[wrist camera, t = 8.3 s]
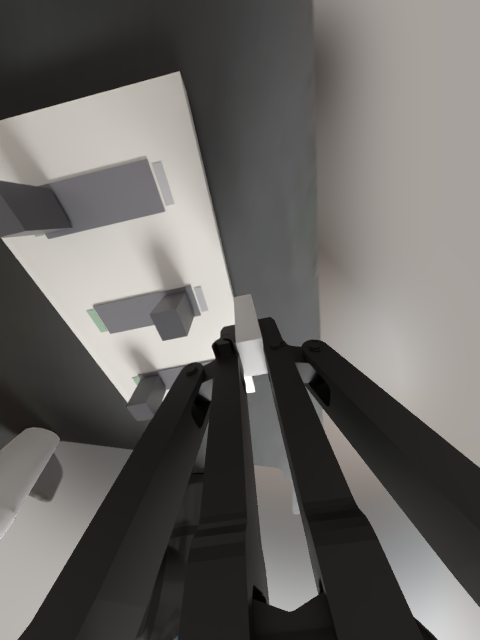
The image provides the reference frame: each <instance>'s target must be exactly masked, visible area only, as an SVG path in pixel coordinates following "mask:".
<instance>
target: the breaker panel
mask: <svg viewBox="0 0 480 640" xmlns="http://www.w3.org/2000/svg"><path fill="white" fill-rule="evenodd" d="M0 181H6V182H13V183H19V184H25V185H32V186H38V187H44V188H50V189H51V191H52V192H53V194H54V196H55V198H56V199H57V201H58V203H59V205H60V206H61V208H62V210H63V211H64V213H65V215H66V217H67V218H68V220H69V222H70V224H71V225H72V227H73V228H69V229H65V230H61V231H57V232H53V233H48V234H39V235H28V236H18V237H7V238H1V239H2V240H3V241H4V242H5V244H6V245H7V246H8V248H9V249H10V250H11V252H12V253H13V254H14V255H15V257H16V258H17V259H18V261H19V262H20V263H21V265H22V266H23V267H24V268H25V270H26V271H27V272H28V274H29V275H30V276H31V278H32V279H33V280H34V281H35V283H36V284H37V285H38V287H39V288H40V289H41V291H42V292H43V293H44V294H45V296H46V297H47V298H48V300H49V301H50V302H51V304H52V305H53V306H54V307H55V309H56V310H57V311H58V313H59V314H60V315H61V317H62V318H63V319H64V320H65V322H66V323H67V324H68V326H69V327H70V328H71V330H72V331H73V332H74V333H75V335H76V336H77V337H78V339H79V340H80V341H81V343H82V344H83V345H84V346H85V348H86V349H87V350H88V352H89V353H90V354H91V356H92V357H93V358H94V360H95V361H96V362H97V363H98V365H99V366H100V367H101V369H102V370H103V371H104V373H105V374H106V375H107V376H108V378H109V379H110V380H111V382H112V383H113V384H114V386H115V387H116V388H117V389H118V391H119V392H120V393H121V395H122V396H123V397H124V399H125V400H126V401H127V402H129V400H130V398H131V396H132V394H133V393H134V391H135V389H136V387H137V385H138V383H139V381H140V380H141V378H145V377H151V376H156V375H158V376H159V377H160V379H161V381H162V383H163V384H164V386H165V388H166V392H165V395H164V397H163V400H164V398H165V397H166V395H167V393H168V391H169V390H170V388H171V386H172V385H173V383H174V381H175V380H176V378H177V376H178V375H179V373H180V371H181V370H182V369H183V367H185V366H186V365H188V364H190V363H193V362H199V363H201V364H202V365H203V366H204V365H206V364H208V363H210V362H212V361H213V360H215V355H214V352H213V349H212V344H213V343H214V342H215V341H216V340H218V339H219V338H220V331H221V330H222V328H223V327H225V326H230V325H235V315H234V294H233V290H232V286H231V282H230V277H229V273H228V269H227V264H226V260H225V256H224V251H223V247H222V243H221V238H220V234H219V230H218V226H217V221H216V217H215V213H214V208H213V204H212V200H211V195H210V191H209V187H208V182H207V178H206V174H205V169H204V165H203V161H202V157H201V152H200V148H199V144H198V139H197V135H196V131H195V126H194V122H193V118H192V113H191V109H190V105H189V101H188V96H187V92H186V89H185V86H184V83H183V80H182V77H181V74H180V71H178V72H175V73H171V74H168V75H164V76H160V77H157V78H153V79H149V80H146V81H142V82H138V83H135V84H131V85H127V86H124V87H120V88H117V89H113V90H109V91H106V92H102V93H98V94H95V95H91V96H87V97H84V98H80V99H76V100H73V101H69V102H66V103H62V104H58V105H55V106H51V107H47V108H44V109H40V110H36V111H33V112H29V113H25V114H22V115H18V116H15V117H11V118H7V119H4V120H0ZM184 291H186V292H187V295H188V297H189V300H190V303H191V306H192V308H193V311H194V314H195V316H194V318H193V321H192V324H191V327H190V330H189V333H188V336H186V337H181V338H176V339H171V340H166V341H162V339H161V337H160V335H159V333H158V331H157V329H156V327H155V325H154V323H153V321H152V319H151V317H150V315H149V314H150V313H151V312H152V310H153V309H154V308H155V307H156V306H157V304H158V303H159V302H160V301H161V299H162V298H163V297H164V296H166V295H170V294H175V293H180V292H184ZM244 379H245V383H246V391H247V393H250V392H255V388H254V381H253V376H249V377H245V376H244ZM163 400H162V402H163Z"/></svg>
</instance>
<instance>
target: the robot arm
mask: <svg viewBox="0 0 480 640" xmlns="http://www.w3.org/2000/svg"><path fill="white" fill-rule="evenodd" d="M234 315H235V325H230V326H225V327H223V328H222V330H221V331H220V338H219V339H218V340H216V341H215V342H214V343H213V344H212V349H213V352H214V355H215V360H213V361H212V362H210V363H208V364H206V365H204V366H203V365H202V364H201V363H199V362H193V363H190V364H188V365H186V366H185V367H183V369H182V370H181V371H180V373H179V375H178V376H177V378H176V380H175V381H174V383H173V385H172V386H171V388H170V390H169V391H168V393H167V395H166V397H165V398H164V400H163V402H162V403H161V405H160V407H159V408H158V410H157V412H156V413H155V415H154V417H153V418H152V420H151V422H150V423H149V425H148V427H147V428H146V430H145V432H144V433H143V435H142V437H141V439H140V440H139V442H138V444H137V445H136V447H135V449H134V450H133V452H132V454H131V455H130V457H129V459H128V460H127V462H126V464H125V465H124V467H123V469H122V471H121V472H120V474H119V476H118V477H117V479H116V481H115V483H114V484H113V486H112V487H111V489H110V491H109V492H108V494H107V496H106V497H105V499H104V501H103V502H102V504H101V506H100V507H99V509H98V511H97V513H96V514H95V516H94V518H93V519H92V521H91V523H90V524H89V526H88V528H87V529H86V531H85V533H84V534H83V536H82V538H81V539H80V541H79V543H78V544H77V546H76V548H75V549H74V551H73V553H72V555H71V556H70V558H69V560H68V561H67V563H66V565H65V566H64V568H63V570H62V571H61V573H60V575H59V576H58V578H57V580H56V581H55V583H54V585H53V586H52V588H51V590H50V592H49V593H48V595H47V597H46V598H45V600H44V602H43V603H42V605H41V607H40V608H39V610H38V612H37V613H36V615H35V617H34V619H33V620H32V622H31V623H30V625H29V626H28V627H27V628H26V630H25V631H24V632H23V634H22V635H21V636H20V637H19V639H18V640H437V638H436V637H435V636H434V635H433V634H432V633H431V632H429V630H427V629H426V628H425V627H424V626H423V625H422V624H421V623H420V622H419V621H418V620H417V619H415V618H414V617H413V615H412V613H411V611H410V608H409V606H408V604H407V602H406V599H405V597H404V595H403V593H402V591H401V589H400V586H399V584H398V582H397V580H396V578H395V575H394V573H393V571H392V569H391V566H390V564H389V562H388V560H387V558H386V555H385V553H384V551H383V549H382V547H381V545H380V542H379V540H378V538H377V536H376V534H375V532H374V530H373V528H372V526H371V524H370V522H369V521H368V519H367V517H366V516H365V515H364V514H363V513H362V511H361V510H360V509H359V508H358V506H357V505H356V503H355V500H354V498H353V496H352V494H351V492H350V489H349V487H348V485H347V482H346V480H345V478H344V476H343V473H342V471H341V468H340V466H339V464H338V461H337V459H336V457H335V455H334V452H333V450H332V448H331V445H330V443H329V441H328V439H327V436H326V434H325V431H324V429H323V427H322V424H321V422H320V420H319V417H318V415H317V413H316V410H315V408H314V406H313V404H312V401H311V399H310V397H309V394H308V392H307V390H306V387H307V389H308V390H309V391H310V392H311V394H312V395H313V396H314V397H315V399H316V400H317V401H318V403H319V404H320V405H321V406H322V408H323V409H324V410H325V412H326V413H327V414H328V415H329V417H330V418H331V419H332V421H333V422H334V423H335V424H336V426H337V427H338V428H339V430H340V431H341V432H342V433H343V435H344V436H345V437H346V438H347V440H348V441H349V442H350V444H351V445H352V446H353V447H354V449H355V450H356V451H357V452H358V454H359V455H360V456H361V458H362V459H363V460H364V462H365V463H366V464H367V465H368V467H369V468H370V469H371V470H372V472H373V473H374V474H375V476H376V477H377V478H378V479H379V481H380V482H381V483H382V485H383V486H384V487H385V488H386V489H387V491H388V492H389V494H390V495H391V496H392V497H393V499H394V500H395V501H396V503H397V504H398V505H399V506H400V508H401V509H402V510H403V511H404V513H405V514H406V515H407V517H408V518H409V519H410V520H411V522H412V523H413V524H414V526H415V527H416V528H417V529H418V531H419V532H420V533H421V534H422V536H423V537H424V538H425V540H426V541H427V542H428V543H429V545H430V546H431V547H432V549H433V550H434V551H435V552H436V554H437V555H438V556H439V557H440V559H441V560H442V561H443V563H444V564H445V565H446V566H447V568H448V569H449V570H450V572H451V573H452V574H453V575H454V577H455V578H456V579H457V580H458V582H459V583H460V584H461V585H462V586H463V587H464V589H465V590H466V591H467V592H468V594H469V595H470V596H471V597H472V598H473V600H474V601H475V602H476V603H477V604H478V606H479V607H480V468H479V467H478V466H477V465H475V464H474V463H473V462H472V461H470V460H469V459H468V458H467V457H465V456H464V455H463V454H462V453H461V452H459V451H458V450H457V449H456V448H454V447H453V446H452V445H451V444H449V443H448V442H447V441H446V440H445V439H443V438H442V437H441V436H440V435H438V434H437V433H436V432H435V431H433V430H432V429H431V428H430V427H429V426H427V425H426V424H425V423H423V422H422V421H421V420H420V419H419V418H417V417H416V416H415V415H413V414H412V413H411V412H410V411H409V410H408V409H406V408H405V407H404V406H403V405H401V404H400V403H399V402H398V401H396V400H395V399H394V398H393V397H391V396H390V395H389V394H388V393H387V392H385V391H384V390H383V389H382V388H380V387H379V386H378V385H377V384H375V383H374V382H373V381H372V380H370V379H369V378H368V377H367V376H366V375H364V374H363V373H362V372H361V371H359V370H358V369H357V368H356V367H354V366H353V365H352V364H351V363H349V362H348V361H347V360H346V359H345V358H343V357H342V356H340V354H338V353H337V352H336V351H335V350H333V349H332V348H331V347H329V345H327V344H326V343H324V342H323V341H320V340H308V341H306V342H304V343H303V345H302V347H296V346H290V345H288V344H286V342H285V341H283V339H282V337H281V335H280V332H279V330H278V328H277V325H276V323H275V320H274V319H272V318H271V317H268V318H263V319H258V320H257V316H256V312H255V308H254V305H253V301H252V297H251V294H248V295H243V296H238V297H234ZM266 373H268V376H269V381H270V387H271V390H272V394H273V398H274V402H275V407H276V411H277V415H278V420H279V424H280V428H281V433H282V437H283V441H284V445H285V450H286V454H287V458H288V463H289V467H290V471H291V475H292V480H293V484H294V488H295V493H296V497H297V501H298V505H299V510H300V514H301V518H302V523H303V526H304V531H305V536H306V540H307V544H308V550H309V555H310V559H311V564H312V568H313V573H314V577H315V581H316V586H317V590H318V595H317V596H316V597H314V598H313V599H311V600H310V601H309V602H307V603H305V604H304V605H302V606H301V607H299V608H298V609H296V610H294V611H292V612H288V611H285V610H282V609H279V608H276V607H274V606H271V605H269V597H268V587H267V578H266V570H265V563H264V557H263V551H262V545H261V536H260V525H259V515H258V505H257V495H256V484H255V474H254V464H253V453H252V443H251V433H250V422H249V412H248V402H247V391H246V383H245V379H244V376H245V377H249V376H255V375H260V374H266ZM304 384H305V385H304ZM305 386H306V387H305ZM208 421H209V427H208V438H207V448H206V458H205V468H204V474H191V472H192V469H193V466H194V463H195V460H196V457H197V454H198V451H199V448H200V445H201V442H202V439H203V436H204V433H205V430H206V427H207V424H208Z"/></svg>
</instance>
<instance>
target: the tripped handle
mask: <svg viewBox="0 0 480 640" xmlns="http://www.w3.org/2000/svg"><path fill="white" fill-rule="evenodd" d="M149 315H150V317H151V319H152V321H153V323H154V325H155V327H156V329H157V331H158V333H159V335H160V337H161V339H162V341H166V340H171V339H176V338H181V337H186V336H188V333H189V330H190V327H191V324H192V321H193V318H194V316H195V314H194V311H193V308H192V306H191V303H190V300H189V297H188V295H187V292H186V291H184V292H180V293H175V294H170V295H166V296H164V297H163V298H162V299H161V301H160V302H159V303H158V304H157V306H156V307H155V308H154V309H153V310H152V312H151V313H150V314H149Z"/></svg>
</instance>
